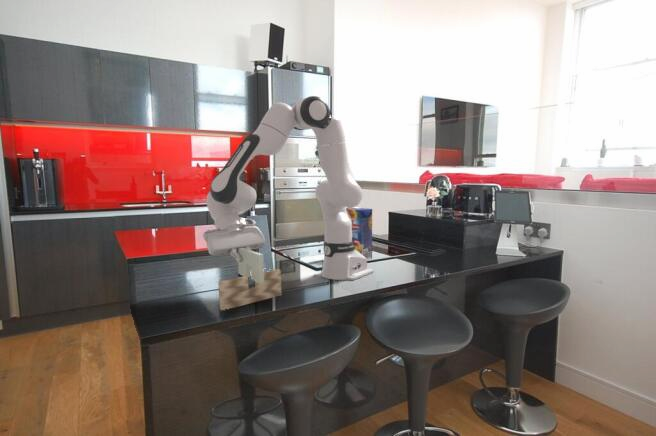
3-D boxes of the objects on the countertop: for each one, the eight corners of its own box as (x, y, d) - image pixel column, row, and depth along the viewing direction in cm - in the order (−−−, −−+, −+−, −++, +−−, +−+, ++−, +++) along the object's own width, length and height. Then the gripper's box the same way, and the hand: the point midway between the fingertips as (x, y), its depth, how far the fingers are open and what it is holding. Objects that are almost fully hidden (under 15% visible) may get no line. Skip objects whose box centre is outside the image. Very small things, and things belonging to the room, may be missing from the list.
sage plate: (242, 272, 132) (241, 247, 131) (264, 282, 122) (263, 254, 120) (238, 273, 131) (237, 248, 130) (259, 283, 121) (258, 255, 119)
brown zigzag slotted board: (278, 293, 135) (278, 269, 134) (281, 295, 134) (280, 269, 133) (220, 309, 121) (218, 281, 120) (222, 310, 120) (220, 282, 119)
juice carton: (372, 258, 185) (372, 208, 182) (361, 261, 180) (361, 210, 177) (354, 254, 194) (354, 207, 190) (343, 256, 189) (343, 208, 186)
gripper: (203, 225, 126) (217, 260, 120) (258, 219, 139) (273, 250, 133) (199, 237, 130) (212, 271, 124) (252, 230, 143) (267, 260, 137)
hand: (244, 260), depth 129 cm, fingers closed on sage plate, 2 cm apart
